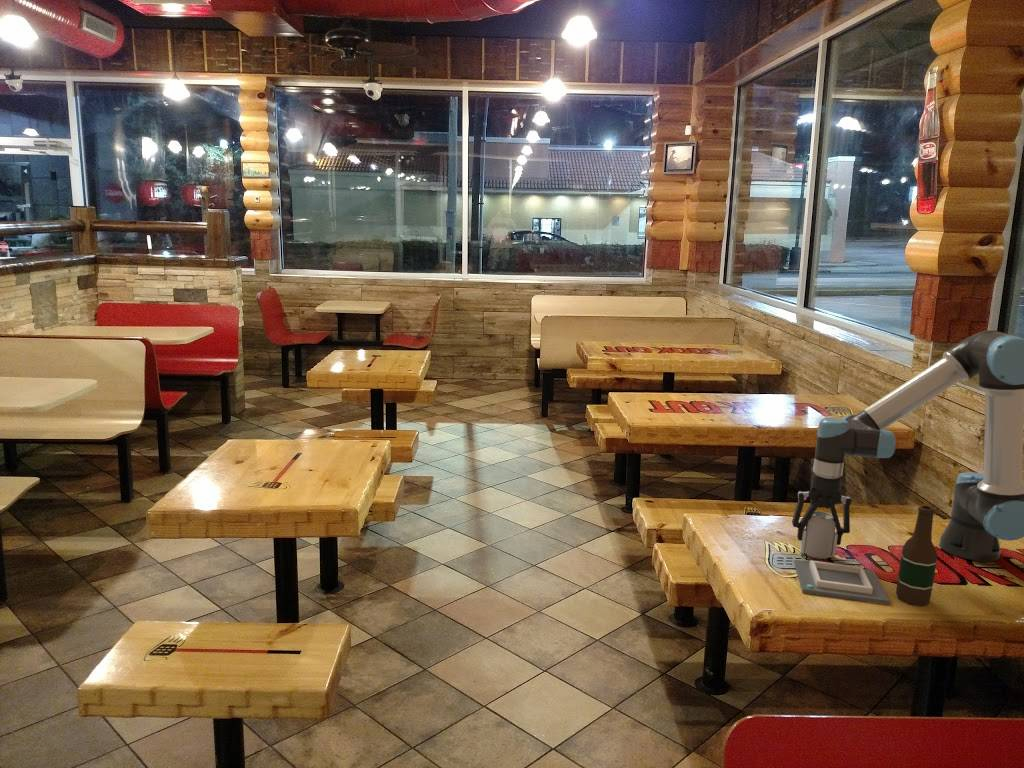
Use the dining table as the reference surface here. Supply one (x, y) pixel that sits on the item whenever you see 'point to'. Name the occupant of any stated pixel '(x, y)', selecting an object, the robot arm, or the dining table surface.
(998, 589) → the dining table surface
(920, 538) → the beer bottle
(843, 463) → the robot arm
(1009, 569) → the dining table surface
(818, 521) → the can
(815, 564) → the dock
